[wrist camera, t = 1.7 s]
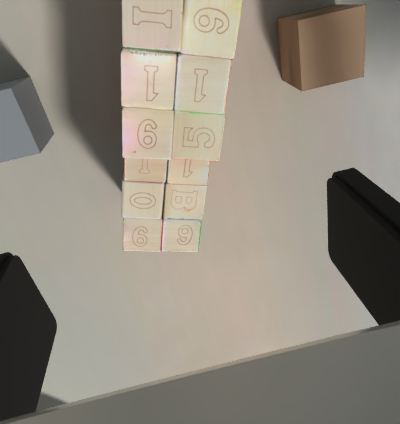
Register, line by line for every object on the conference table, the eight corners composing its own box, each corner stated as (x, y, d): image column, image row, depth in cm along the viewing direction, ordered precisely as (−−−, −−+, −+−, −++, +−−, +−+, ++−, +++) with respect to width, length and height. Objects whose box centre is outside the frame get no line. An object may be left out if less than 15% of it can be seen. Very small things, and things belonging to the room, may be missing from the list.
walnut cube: (334, 4, 30) (365, 4, 26) (335, 67, 33) (363, 76, 29) (276, 18, 30) (298, 20, 26) (281, 79, 33) (301, 91, 29)
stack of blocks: (187, 201, 38) (202, 278, 27) (125, 198, 37) (116, 276, 26) (216, -49, 28) (258, -81, 17) (132, -63, 27) (122, -106, 16)
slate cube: (30, 76, 30) (10, 88, 26) (54, 133, 33) (40, 152, 29) (-29, 89, 30) (-59, 104, 26) (-1, 146, 33) (-23, 167, 28)
